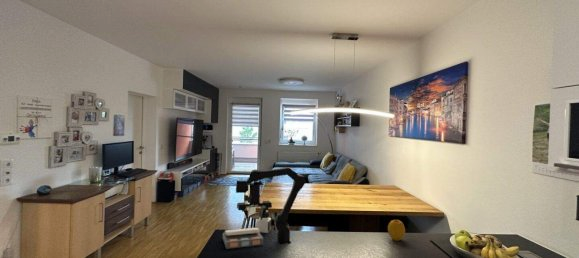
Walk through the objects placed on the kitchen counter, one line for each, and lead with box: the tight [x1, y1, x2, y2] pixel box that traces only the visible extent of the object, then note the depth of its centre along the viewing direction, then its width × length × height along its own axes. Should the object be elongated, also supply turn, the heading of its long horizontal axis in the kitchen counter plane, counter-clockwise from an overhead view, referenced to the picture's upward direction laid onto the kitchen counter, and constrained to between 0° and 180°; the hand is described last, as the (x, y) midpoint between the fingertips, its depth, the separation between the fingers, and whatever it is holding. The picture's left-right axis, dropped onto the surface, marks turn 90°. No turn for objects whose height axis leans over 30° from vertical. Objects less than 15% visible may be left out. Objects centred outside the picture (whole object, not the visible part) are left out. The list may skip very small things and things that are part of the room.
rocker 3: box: [246, 227, 261, 234], centre depth 173 cm, size 6×8×2 cm
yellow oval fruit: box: [387, 219, 406, 242], centre depth 179 cm, size 10×10×12 cm
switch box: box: [222, 232, 264, 250], centre depth 170 cm, size 20×14×4 cm
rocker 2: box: [236, 228, 249, 235], centre depth 171 cm, size 6×8×2 cm
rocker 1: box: [224, 229, 238, 236], centre depth 169 cm, size 6×8×2 cm
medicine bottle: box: [256, 210, 272, 234], centre depth 188 cm, size 7×7×12 cm
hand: (254, 220), depth 170 cm, fingers open, 7 cm apart
